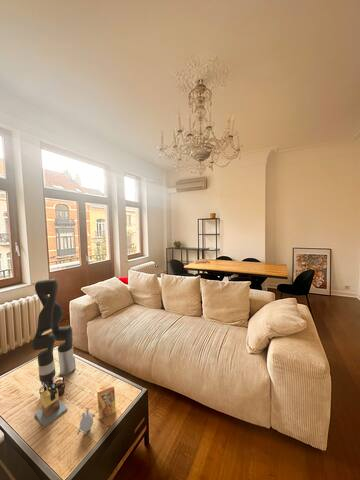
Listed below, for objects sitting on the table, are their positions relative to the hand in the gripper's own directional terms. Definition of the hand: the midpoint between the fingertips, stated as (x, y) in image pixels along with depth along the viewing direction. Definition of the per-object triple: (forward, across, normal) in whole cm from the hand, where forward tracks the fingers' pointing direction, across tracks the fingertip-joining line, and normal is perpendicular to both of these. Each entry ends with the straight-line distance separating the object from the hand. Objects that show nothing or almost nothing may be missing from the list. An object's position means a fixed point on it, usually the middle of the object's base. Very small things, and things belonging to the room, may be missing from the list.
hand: (49, 395), depth 114 cm
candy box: (+11, -27, -18) cm, 34 cm away
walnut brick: (+9, 0, 0) cm, 9 cm away
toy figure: (+10, -27, -6) cm, 30 cm away
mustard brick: (+3, 0, 0) cm, 3 cm away
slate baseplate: (+10, 0, 0) cm, 10 cm away
